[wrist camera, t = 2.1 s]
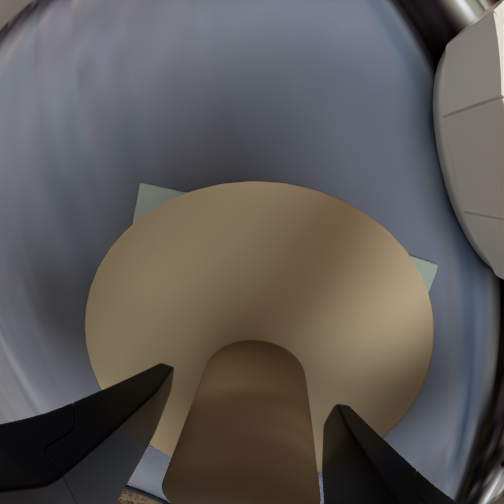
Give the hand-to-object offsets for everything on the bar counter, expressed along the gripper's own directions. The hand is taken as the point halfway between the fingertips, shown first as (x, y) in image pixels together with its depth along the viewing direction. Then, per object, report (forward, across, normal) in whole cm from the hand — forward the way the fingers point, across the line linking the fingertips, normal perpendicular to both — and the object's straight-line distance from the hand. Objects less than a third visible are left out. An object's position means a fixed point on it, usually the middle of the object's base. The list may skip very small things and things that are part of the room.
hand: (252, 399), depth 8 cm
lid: (+2, 0, 0) cm, 2 cm away
